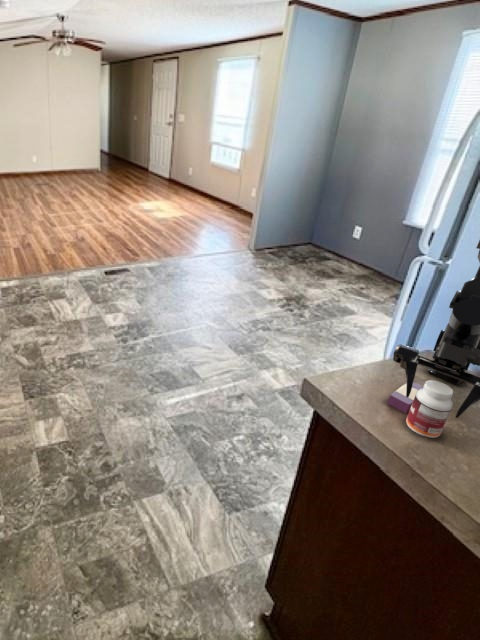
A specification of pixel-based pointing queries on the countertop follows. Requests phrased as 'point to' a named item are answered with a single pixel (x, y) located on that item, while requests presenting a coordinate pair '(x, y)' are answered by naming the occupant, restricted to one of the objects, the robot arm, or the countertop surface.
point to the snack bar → (403, 397)
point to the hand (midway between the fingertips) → (431, 406)
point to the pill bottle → (430, 409)
